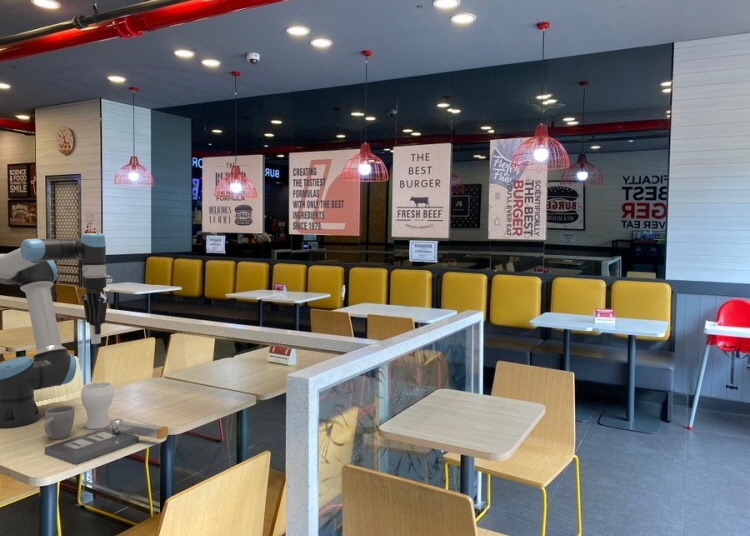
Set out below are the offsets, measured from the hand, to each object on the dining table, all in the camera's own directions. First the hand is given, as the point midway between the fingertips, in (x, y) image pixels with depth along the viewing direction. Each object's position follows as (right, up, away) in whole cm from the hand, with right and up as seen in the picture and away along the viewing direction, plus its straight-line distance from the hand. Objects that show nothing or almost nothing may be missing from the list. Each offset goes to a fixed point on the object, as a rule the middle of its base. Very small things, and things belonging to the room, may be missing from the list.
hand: (96, 343), depth 201 cm
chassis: (+6, -32, -15) cm, 36 cm away
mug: (-10, -32, -6) cm, 34 cm away
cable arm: (+19, -30, -9) cm, 36 cm away
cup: (-2, -31, +7) cm, 32 cm away
